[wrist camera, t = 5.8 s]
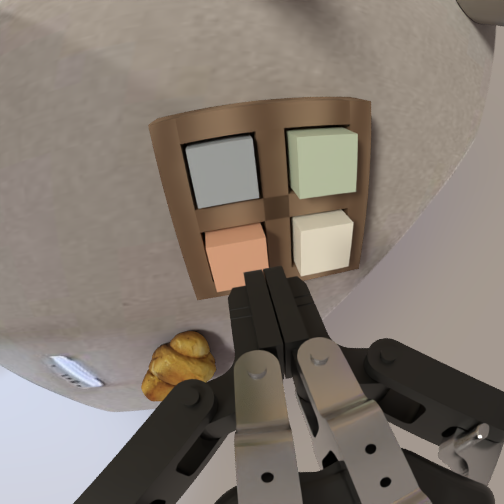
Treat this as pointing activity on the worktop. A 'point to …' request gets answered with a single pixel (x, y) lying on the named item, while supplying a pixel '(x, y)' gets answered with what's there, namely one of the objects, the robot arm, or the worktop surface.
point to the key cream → (321, 241)
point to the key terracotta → (235, 254)
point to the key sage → (322, 161)
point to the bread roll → (178, 364)
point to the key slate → (223, 169)
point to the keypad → (258, 177)
